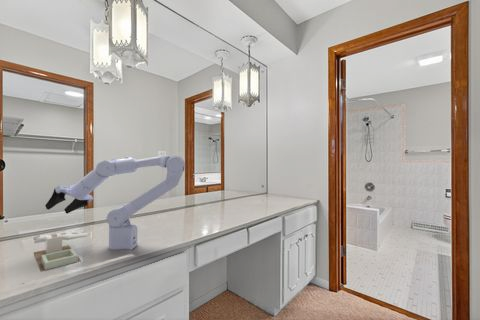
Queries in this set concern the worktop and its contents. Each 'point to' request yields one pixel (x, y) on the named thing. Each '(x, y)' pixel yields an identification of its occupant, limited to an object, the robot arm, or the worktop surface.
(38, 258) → the board
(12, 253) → the worktop surface
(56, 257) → the holder
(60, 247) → the plug
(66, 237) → the gun
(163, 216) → the worktop surface
